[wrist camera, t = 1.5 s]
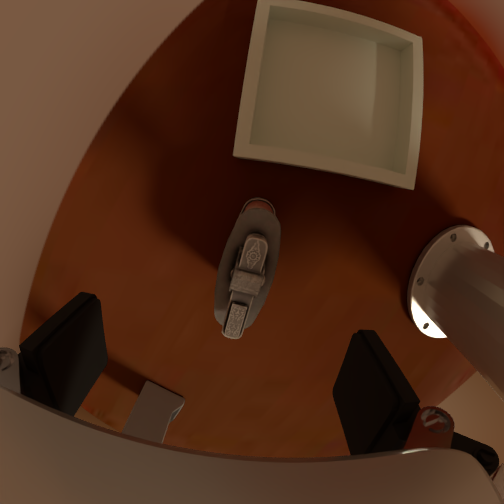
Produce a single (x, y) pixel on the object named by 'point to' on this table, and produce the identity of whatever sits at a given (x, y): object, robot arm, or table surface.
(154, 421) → the vintage mobile phone
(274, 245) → the lighter
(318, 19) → the tray
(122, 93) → the table surface
